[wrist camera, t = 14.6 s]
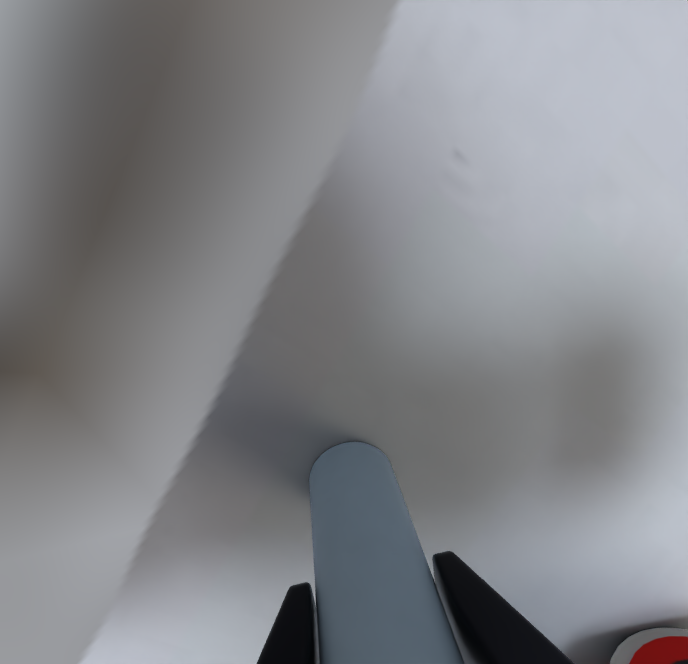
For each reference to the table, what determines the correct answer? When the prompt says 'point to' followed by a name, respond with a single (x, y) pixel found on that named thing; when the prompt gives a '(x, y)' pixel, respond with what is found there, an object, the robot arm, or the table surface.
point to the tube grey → (371, 567)
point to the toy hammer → (654, 647)
